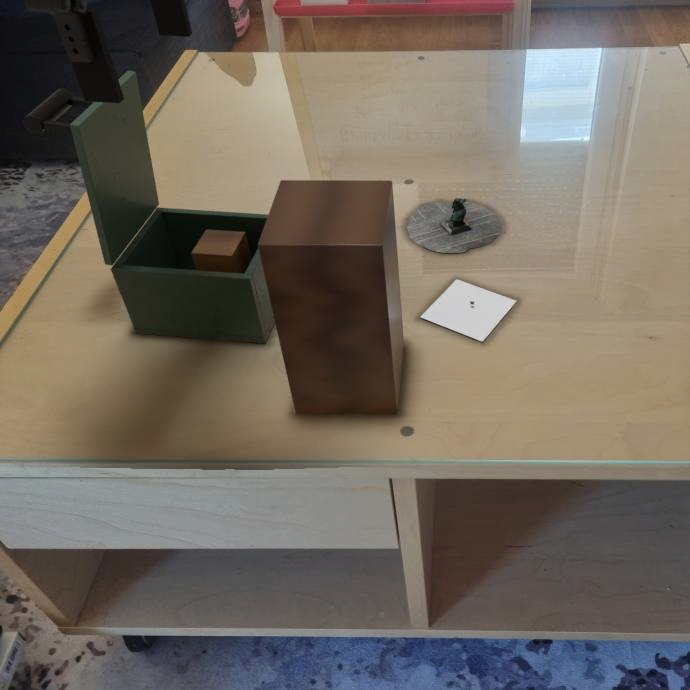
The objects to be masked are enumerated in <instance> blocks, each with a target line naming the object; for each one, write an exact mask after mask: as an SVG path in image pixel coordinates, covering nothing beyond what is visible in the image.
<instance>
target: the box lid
mask: <svg viewBox="0 0 690 690" xmlns="http://www.w3.org/2000/svg"><path fill="white" fill-rule="evenodd" d="M118 80H119V83H120V87H121V90H122V93H123V96H124V100H123V101H122V102H121V103H107V102H88V101H85V100H84V97H79V96H74V95H73V94H72V92H71V91H70V90H68V89H66V88H58V89H56V90H55V91H54V92H53V93H52V94H51V95H49V97H47V98H46V99H44V100H43V101H42V102H41V103H40V104H38V105H37V106H36V107H35V108H34V109H33V110H32V111H30V112H29V113H28V114H27V115H25V116H24V117H23V121H22V122H23V126H24V127H25V129H26V131H28V132H30V133H31V134H34V135H40V134H42V133H43V132H45V130H46V131H51V132H57V133H63V134H64V133H65V134H69V135H72V138H73V142H74V146H75V151H76V154H77V159H78V163H79V166H80V170H81V175H82V178H83V183H84V187H85V189H86V190H85V191H86V195H87V198H88V202H89V206H90V210H91V214H92V218H93V222H94V226H95V230H96V234H97V238H98V243H99V246H100V250H101V254H102V258H103V263H104V264H105V265H106V266H113V265H114V264H115V262H116V261H117V260H118V258H119V257H120V256H121V255H122V253H123V252H124V251H125V249H126V248H127V247H128V245H129V244H130V243H131V241H132V240H133V239H134V237H135V236H136V235H137V233H138V232H139V231H140V230H141V228H142V227H143V226H144V224H145V223H146V222H147V220H148V219H149V218H150V216H151V215H152V214H153V212H154V211H155V210H156V209H157V208H158V207H159V205H160V201H159V194H158V190H157V184H156V179H155V173H154V167H153V162H152V156H151V150H150V145H149V137H148V133H147V132H148V131H147V128H146V127H147V126H146V121H145V117H144V116H145V115H144V111H143V105H142V99H141V92H140V87H139V82H138V76H137V71H133V70H127V71H125V73H124V74H123V75H121V77H120V78H118ZM72 107H76V108H81V109H82V108H83V109H85V110H84V111H82V113H81V114H80V115H78V116H77V117H76V118H75V119H73V121H72V122H71V123H67V122H61V121H57V120H58V119H59V118H60V117H61V116H62V115H64V114H65V113H66V112H67V111H68V110H69V109H70V108H72Z"/></svg>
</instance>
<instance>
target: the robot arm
mask: <svg viewBox="0 0 690 690" xmlns="http://www.w3.org/2000/svg"><path fill="white" fill-rule="evenodd" d="M23 1H24V5H25V7H26V9H27V10H28V11H29V12H38V13H49V14H50V15H51V16H52V17H53V19H54V20H55V24H56V26H57V29H58V32H59V35H60V38H61V41H62V44H63V46H64V49H65V52H66V55H67V57H68V58H69V60H70V62H71V65H72V68H73V71H74V74H75V77H76V80H77V83H78V85H79V88H80V92H81V94H82V98H84V100H85V101H88V102H107V103H121V102H122V101H123V100H124V96H123V93H122V90H121V87H120V83H119V78H118V73H117V71H116V68H115V64H114V61H113V59H112V55H111V51H110V48H109V44H108V42H107V38H106V35H105V33H104V29H103V26H102V23H101V19H100V15H99V13H98V10H97V7H88V0H23ZM149 1H150V6H151V9H152V13H153V16H154V20H155V24H156V27H157V31H158V32H157V33H158V35H159V36H162V37H163V36H166V37H167V36H168V37H186V38H188V37H191V36H192V35H193V31H192V27H191V22H190V18H189V17H190V16H189V14H188V8H187V5H186V1H185V0H149Z"/></svg>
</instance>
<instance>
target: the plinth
mask: <svg viewBox="0 0 690 690" xmlns="http://www.w3.org/2000/svg"><path fill="white" fill-rule="evenodd" d="M395 213H396V212H395V201H394V185H393V181H392V180H363V179H362V180H361V179H360V180H358V179H357V180H353V179H351V180H350V179H349V180H348V179H347V180H345V179H343V180H337V179H335V180H333V179H332V180H331V179H330V180H327V179H326V180H325V179H322V180H321V179H315V180H314V179H313V180H312V179H309V180H308V179H306V180H305V179H298V180H297V179H287V180H286V179H281V180H280V181H279V184H278V187H277V190H276V192H275V195H274V198H273V201H272V204H271V207H270V209H269V212H268V217H267V220H266V223H265V226H264V228H263V231H262V234H261V237H260V240H259V242H258V249H259V253H260V258H261V262H262V267H263V271H264V275H265V280H266V284H267V289H268V293H269V298H270V302H271V306H272V311H273V315H274V320H275V323H274V325H275V328H276V333H277V337H278V341H279V346H280V351H281V354H282V359H283V364H284V367H285V368H284V369H285V373H286V377H287V381H288V386H289V390H290V394H291V399H292V403H293V408H294V412H295V414H377V415H378V414H388V415H389V414H391V415H393V414H395V415H396V414H398V412H399V402H400V401H399V400H400V390H401V381H402V380H401V379H402V372H403V371H402V370H403V361H404V351H405V349H404V348H405V337H404V325H403V311H402V298H401V296H402V295H401V283H400V271H399V269H400V268H399V255H398V243H397V241H398V240H397V228H396V227H397V226H396V214H395Z"/></svg>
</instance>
